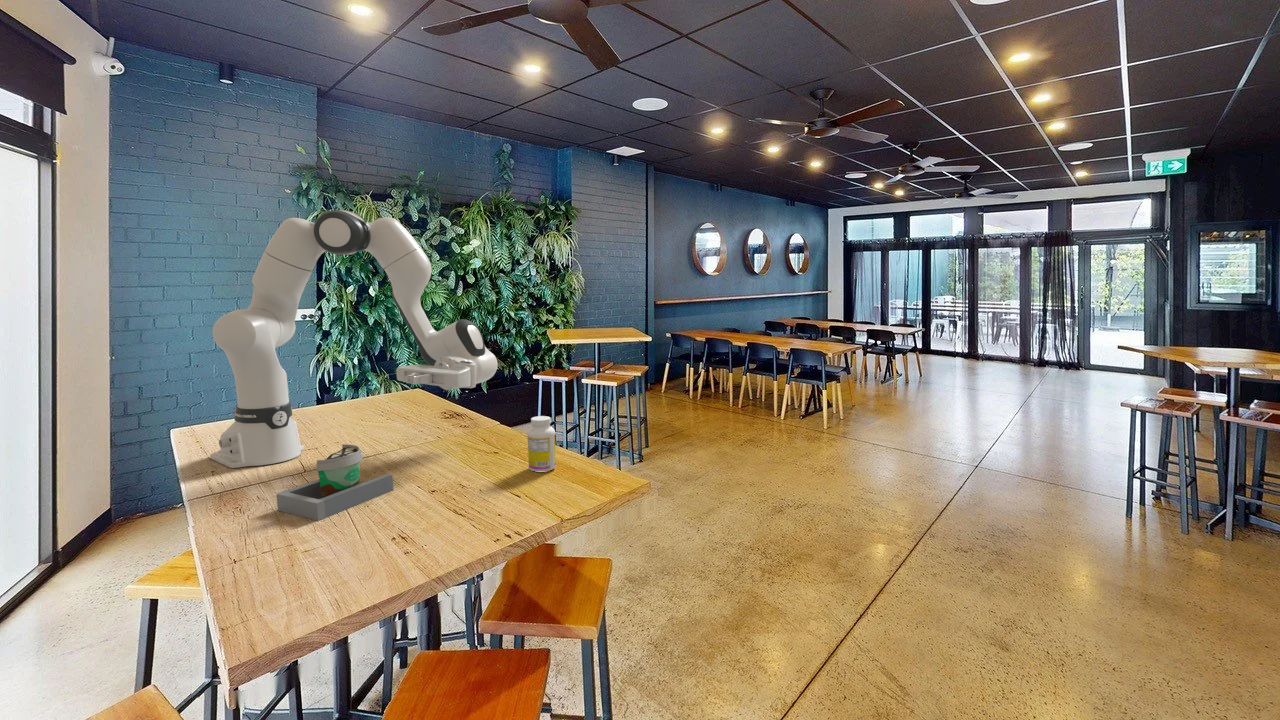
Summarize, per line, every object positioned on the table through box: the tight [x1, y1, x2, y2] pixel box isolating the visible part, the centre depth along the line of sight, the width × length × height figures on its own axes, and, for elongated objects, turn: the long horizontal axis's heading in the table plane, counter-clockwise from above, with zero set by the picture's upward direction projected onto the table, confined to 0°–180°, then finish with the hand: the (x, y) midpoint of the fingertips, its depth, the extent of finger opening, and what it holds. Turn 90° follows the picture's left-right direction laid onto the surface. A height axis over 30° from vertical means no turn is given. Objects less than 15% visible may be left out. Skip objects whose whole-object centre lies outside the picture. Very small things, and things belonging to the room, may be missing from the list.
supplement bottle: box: [527, 415, 557, 472], centre depth 140 cm, size 7×7×13 cm
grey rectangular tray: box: [276, 473, 394, 522], centre depth 121 cm, size 12×18×4 cm, turn 156°
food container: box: [315, 443, 364, 498], centre depth 123 cm, size 12×6×10 cm, turn 3°
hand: (409, 380), depth 140 cm, fingers closed
